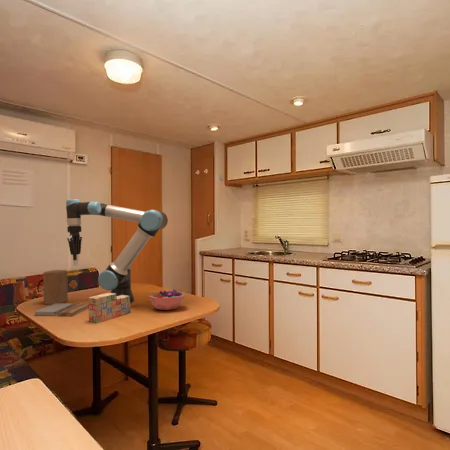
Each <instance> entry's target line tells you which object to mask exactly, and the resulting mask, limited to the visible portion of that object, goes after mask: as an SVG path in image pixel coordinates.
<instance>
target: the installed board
mask: <svg viewBox="0 0 450 450" xmlns="http://www.w3.org/2000/svg"><path fill="white" fill-rule="evenodd" d="M74 304H75V305H73V306H71V307H69V308H66V309H64V310H62V311H60V312H58V315H57V317H61V318H62V317H68V318H69V317H74V316H76V315H78V314H80V313H82V312H84V311H86V310H89V302H87V303H83V302H78V303H74Z"/></svg>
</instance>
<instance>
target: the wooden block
mask: <svg viewBox="0 0 450 450" xmlns="http://www.w3.org/2000/svg"><path fill="white" fill-rule="evenodd" d="M42 275H43V276H42V278H43V280H42V282H43V285H42V286H43V304H44V305H47V306H50V305H52V304H55V303H66V302H68V300H69V299H68V298H69V292H68V291H69V290H68V288H69V286H68V270H66V269H52V270H47V271H44V272H43V274H42Z"/></svg>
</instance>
